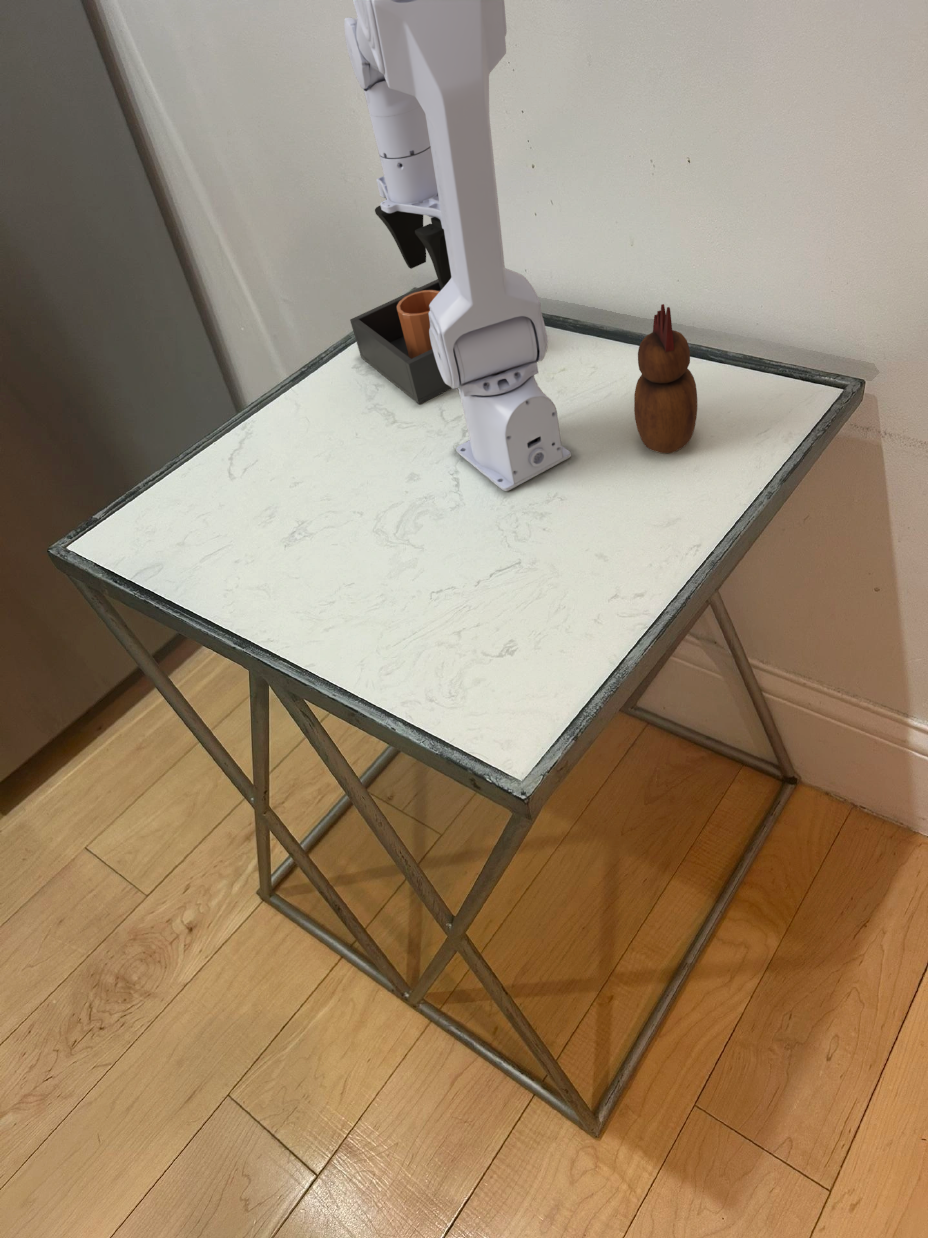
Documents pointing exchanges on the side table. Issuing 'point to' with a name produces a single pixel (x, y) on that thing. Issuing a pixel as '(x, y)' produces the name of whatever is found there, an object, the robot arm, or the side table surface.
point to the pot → (416, 321)
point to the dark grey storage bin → (397, 350)
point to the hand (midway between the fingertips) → (433, 274)
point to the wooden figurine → (665, 388)
